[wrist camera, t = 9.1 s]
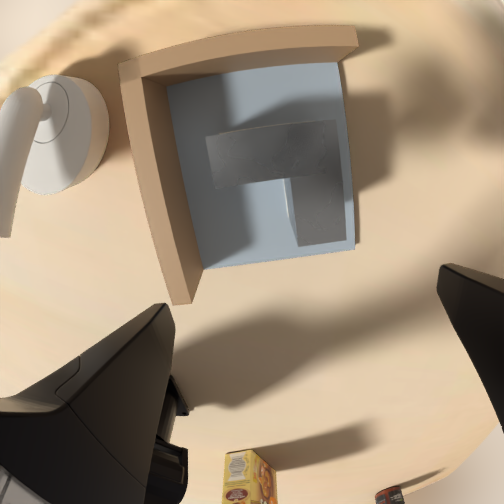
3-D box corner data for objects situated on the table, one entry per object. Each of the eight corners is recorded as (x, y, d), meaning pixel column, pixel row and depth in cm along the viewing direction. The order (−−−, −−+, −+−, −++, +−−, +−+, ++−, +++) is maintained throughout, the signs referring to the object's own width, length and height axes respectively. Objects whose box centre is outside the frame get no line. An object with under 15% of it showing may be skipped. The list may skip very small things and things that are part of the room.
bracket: (315, 120, 17) (335, 119, 12) (326, 212, 19) (346, 240, 15) (218, 134, 17) (205, 137, 13) (235, 225, 20) (228, 256, 15)
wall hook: (-56, 239, 11) (-56, 81, 7) (23, 197, 20) (32, 80, 16) (23, 269, 12) (29, 56, 8) (102, 211, 20) (118, 76, 16)
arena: (352, 246, 21) (375, 279, 16) (189, 267, 22) (172, 305, 17) (331, 47, 15) (354, 25, 11) (149, 76, 16) (117, 63, 12)
